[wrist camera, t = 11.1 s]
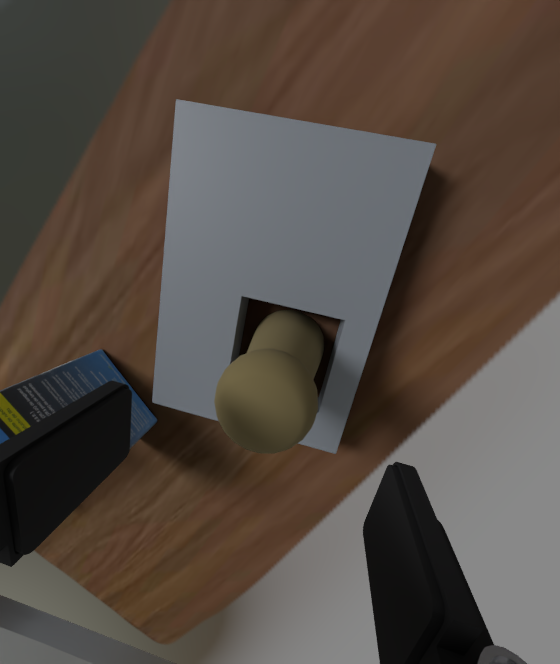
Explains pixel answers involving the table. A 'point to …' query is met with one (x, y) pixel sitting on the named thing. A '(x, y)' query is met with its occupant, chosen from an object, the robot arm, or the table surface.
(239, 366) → the cork
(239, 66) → the table surface
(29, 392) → the blue and white box
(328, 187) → the socket board
